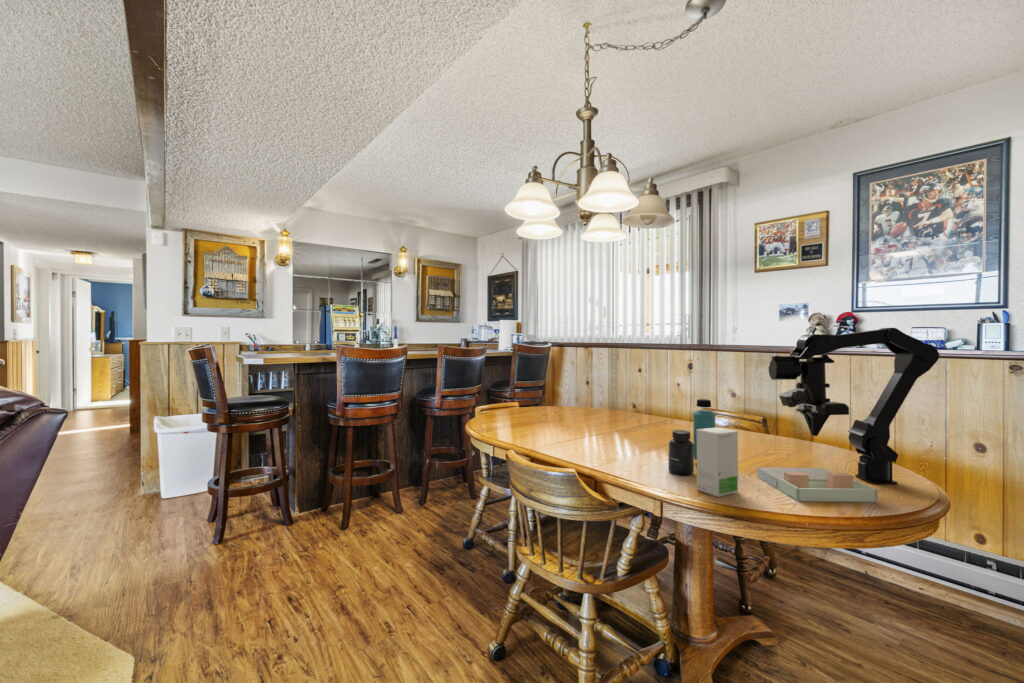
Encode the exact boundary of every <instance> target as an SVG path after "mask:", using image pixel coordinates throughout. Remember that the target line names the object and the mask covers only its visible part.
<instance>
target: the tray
mask: <svg viewBox="0 0 1024 683" xmlns="http://www.w3.org/2000/svg"><path fill="white" fill-rule="evenodd" d="M776 489H777V490H779V491H780V492H782V493H783V494H785V495H787V496H788V497H790V498H791V499H792V500H795V501H796V502H806V503H807V502H815V503H817V502H818V503H819V502H820V503H821V502H822V503H875V504H877V503H878V489H877V488H874V487H873V486H870V485H867V484H865V483H863V482H861V481H858V480H855V479H854V478H853V489H832V488H827V482H815V481H809V488H798V487H796V486H794V485H792V484H790V483H789V482H787V481H785V480H783V479H782V478H780V477H777V488H776Z"/></svg>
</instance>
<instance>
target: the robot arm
mask: <svg viewBox="0 0 1024 683" xmlns="http://www.w3.org/2000/svg"><path fill="white" fill-rule="evenodd" d="M879 344H883V345H884V346H885V348H887V350H888V351H890V352H891V353H892V354H895V357H894V360H893V361H894V363H893V366H894V371H893V374H892V375H891V377H890V378H889V380H888V382H887V384H886V385H885V388H884V389H883V391H882V393H881V394H880V396H879V398H878V399H877V401H876V403H875V405H874V406H873V408H872V410H871V411H870V413H869V415H868V416H867V417H866V418H865V419H863V420H859V419H855V420H854V422H853V424H852V427H851V428H849V430H848V431H847V432H848V433H849V434H848V440H849V444H851V446H852V447H854V449H855V451H856V454H858V455H859V461H858V462H857V474H854V475H855V477H857V478H859V479H861V480H864V481H866V482H868V483H871V484H876V485H877V484H881V485H882V484H883V485H892V484H894V485H895V484H897V485H898V481H896V480H894V479H893V463H896V462H897V460H898V457H899V454H898V453H897V452H896V451H895V450H894V449H893V448H892V447H890V446H889V445H888V444H889V441H890V438H891V433H890V432H891V431H890V430H891V429H890V426H891V424H892V422H893V421H894V419H895V418H896V415H897V413H898V412H899V410H900V408H901V407H902V406H903V404H904V402H905V400H906V398H907V397H908V395H909V393H910V392H911V390H912V388H913V386H914V385H915V383H916V382H917V380H918V378H920V377H922V376H923V375H925V374H926V373H927V372H929V371H930V370H931V369H932V368H933V367H934V365H936V363H937V362H938V360H939V358H940V353H939V351H938V349H937V348H936V346H934V345H933V344H930V343H924V342H923V341H921V340H919V339H918V338H915V337H913V336H911V335H910V334H906V333H905V332H903V331H901V330H900V329H898V328H896V327H882V328H879V329H873V330H866V331H865V330H864V331H857V332H848V333H843V334H819V333H818V334H817V333H816V334H802V335H801V336H800V337H799V338H798V339H797V341H796V346H795V347H794V348H793V349H792V351H790V353H789V355H784V356H783V355H782V356H781V355H771V359H770V362H769V366H768V374H769V378H770V379H771V380H772V381H773V380H774V381H775V380H777V381H785V380H790V381H791V380H792V381H793V380H794V381H795V380H797V379H798V377H800V382H797V383H796V384H795V388H793V389H790V390H787V391H785V392H781V393H780V394H779V395H778V397H779V399H780V401H781V405H782V406H784V407H788V408H796V407H797V406H798V407H797V408H796V409H795V411H797V412H798V413H800V415H802V416H803V417H804V419H805V422H806V424H807V427H808V429H809V433H810V434H811V436H812V437H817V436H819V434H820V432H821V430H822V428H823V427H824V425H825V423H826V422H827V420H828V419H829V418H830V417H831V416H840V415H843V416H845V415H846V416H847V415H848V416H849V415H850V407H849V406H848V405H847V404H846V403H844V402H838V401H831V398H827V388H830V387H831V386H830V385H831V383H826V382H827V380H826V379H827V378H826V364H834V363H835V360H834V359H832V357H830V356H828V354H829V353H831V352H836V351H837V350H840V349H844V348H853V347H862V346H868V345H870V346H871V345H879ZM816 356H817V357H816Z"/></svg>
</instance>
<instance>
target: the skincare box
mask: <svg viewBox="0 0 1024 683" xmlns="http://www.w3.org/2000/svg"><path fill="white" fill-rule="evenodd" d="M696 432H697V460H696V490H697V491H699V492H700V493H701V492H702V493H704V494H707V495H710V496H714V497H717V498H719V497H720V498H721V497H724V496H727V495H728V496H729V495H733V494H737V493H739V460H738V458H739V455H738V452H739V449H738V448H739V447H738V445H739V442H738V440H739V438H738V430H733V429H727V428H721V427H715V428H705V429H697V430H696Z"/></svg>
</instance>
